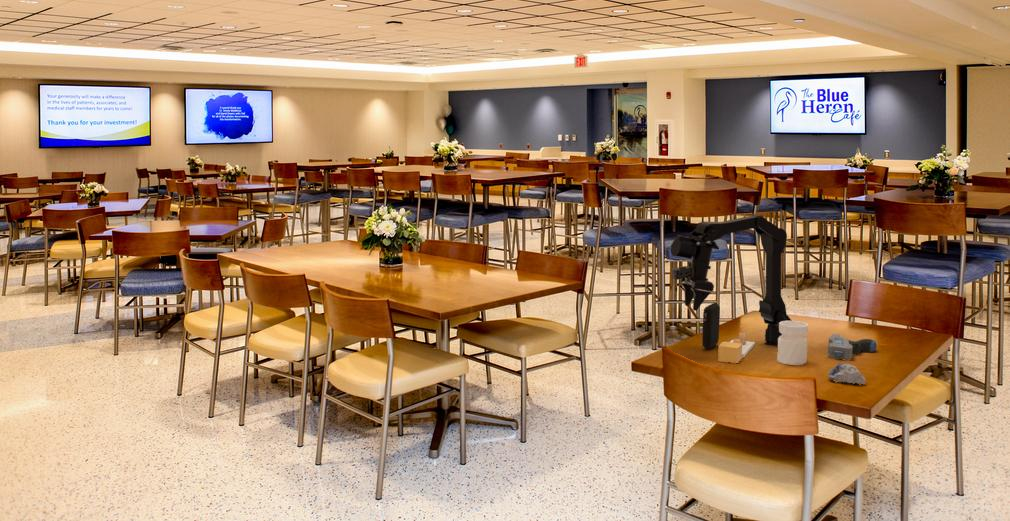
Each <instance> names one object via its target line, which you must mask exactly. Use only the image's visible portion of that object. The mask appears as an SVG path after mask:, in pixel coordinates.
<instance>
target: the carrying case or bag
mask: <svg viewBox="0 0 1010 521" xmlns="http://www.w3.org/2000/svg"><path fill="white" fill-rule="evenodd" d="M720 312H721V310H720V305H719V304H718V303H717V302H713V303H711V304H709V305H706V307H704V309H703V312H702V314H703V315H702V338H701V339H702V347H703V348H704V350H709V349H711V348H713V347H714V346H716V345H717V344H718V343H719V338H720V317H721V316H720V315H721V313H720Z"/></svg>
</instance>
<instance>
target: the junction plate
mask: <svg viewBox="0 0 1010 521" xmlns="http://www.w3.org/2000/svg"><path fill="white" fill-rule="evenodd" d="M738 334H739V338H734V339H731V340H730V341H729V342H733V343H742V358H744V357H746V356H745V355H748V353H749V352H750V351H751V350H752V349H753V348H754V347H755V344H756V341H748V340H747V333H745V332H739V333H738Z"/></svg>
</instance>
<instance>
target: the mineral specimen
mask: <svg viewBox="0 0 1010 521" xmlns="http://www.w3.org/2000/svg"><path fill="white" fill-rule="evenodd" d="M827 374H828V377H829V379H830V381H831V380H835V381H839V383H842V382H843V383H846V382H847V383H846V384H850V383H853V384H852V385H854V384H855V383H857V385H858V384H863V385H865V384H866V382H867V380H866V378H865V377H864V375H863V374H862V373H861V372H860V370H859V369H858V367H856V366H855V365H853V364H849V363H847V362H845V363H842V362H837V363H836V364H835V366H834V367H833V368H831V369H830V368H829V369H828V372H827ZM835 381H834V382H835Z"/></svg>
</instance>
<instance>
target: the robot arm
mask: <svg viewBox="0 0 1010 521" xmlns="http://www.w3.org/2000/svg"><path fill="white" fill-rule="evenodd" d="M752 229H753V230H754V232H755V233H756V234H757V235H759V236H760V243H761V246H762V248H763V251H764V253H765V296H764V298H763V299H762V300H759V301H758V305H759V307H758V308H759V309H758V312H759V314H760V317H761V318H762V319H763V321H764V323H763V324H767V327H766V329H765V333H764V334H765V335H764V336H765V337H764V338H765V339H764V341H765V345H770V346H773V345H774V346H778V338H779V337H780V336H781V335H782V334H781V333H780V332H779V322H781V321H793V320H792V319H791V318H790V316H788V315H787V314H788V313H787V307H786V303H785V301H784V299H783V296H782V254H783V252H784V250H785V248H786V245H787V239H788V233H787V231H786V230H785V229H783V228H782V227H778V226H777V225H776V224H774V223H772V222H771V221H769V220H768V219H766V218H765V217H764V216H763V215H760V214H751V215H748V216H742V217H737V218H734V219H729V220H725V221H724V220H723V221H700V222H698V223H697V225H696V226H695V229H693V231H692V232H690V233H689V234H688V235H687V237H686V236H684V235H678V234H677V235H676V238H675V239H674V240H673V241H672V243H671V244H670V253H671V255H672V256H673V257H675V258H676V257H677V258H682V259H689V260H691V261H689V262H687V265H683V266H678V267H672V268H671V269H670V270H671V278H672V279H674V280H675V281H677V280H678V282H679V284H680V285H681V286H682V287H683V290H684V291H683V292H684V306H686V307H689V306H690V304H691V302H692V301H693V304H692V311H697V310H699V308H700V307H701V305H702V304H703V303H704V301H705V300H706V299H707V298H708V297H709V295H711V293H712V292H714V288H715V285H714V283H713V282H711V281H710V280H709V278H708V273H709V270H711V268H712V266H710V264H711V260H712V259H711V258H712V254H713V250H717V251H718V250H719V249H720V247H719V246H718V245H717V242H716V241H717V240H720V239H722V238H723V237H724V236H726V235H729V234H734V233H738V232H744V231H748V230H752Z"/></svg>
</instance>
